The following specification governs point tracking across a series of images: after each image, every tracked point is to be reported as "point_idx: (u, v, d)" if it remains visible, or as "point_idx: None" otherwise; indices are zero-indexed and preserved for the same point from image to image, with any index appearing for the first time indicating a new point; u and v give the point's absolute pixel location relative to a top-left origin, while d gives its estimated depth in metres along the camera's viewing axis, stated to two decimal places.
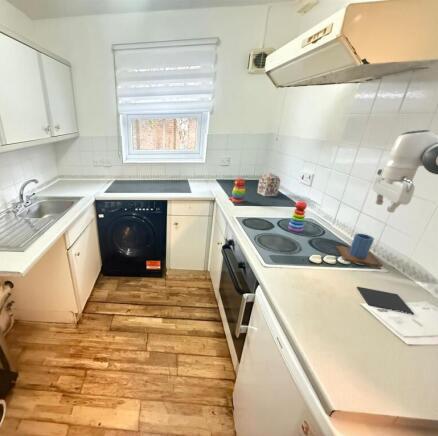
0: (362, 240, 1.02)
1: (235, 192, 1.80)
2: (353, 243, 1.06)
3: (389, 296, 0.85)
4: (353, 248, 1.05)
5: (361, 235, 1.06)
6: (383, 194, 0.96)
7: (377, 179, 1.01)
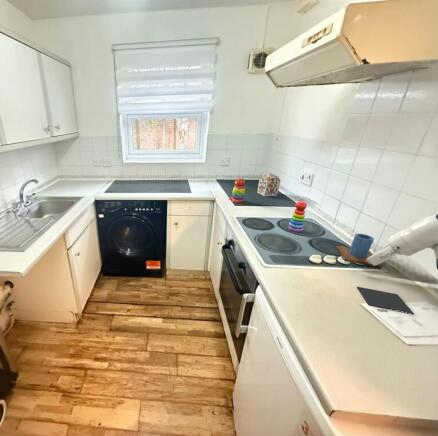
0: (362, 240, 1.02)
1: (235, 192, 1.80)
2: (353, 243, 1.06)
3: (389, 296, 0.85)
4: (353, 248, 1.05)
5: (361, 235, 1.06)
6: (379, 250, 0.99)
7: None
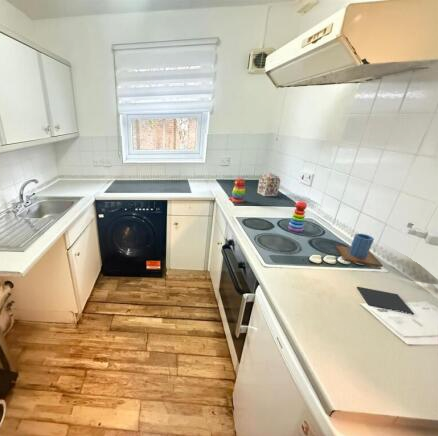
0: (362, 240, 1.02)
1: (235, 192, 1.80)
2: (353, 243, 1.06)
3: (389, 296, 0.85)
4: (353, 248, 1.05)
5: (361, 235, 1.06)
6: None
7: None
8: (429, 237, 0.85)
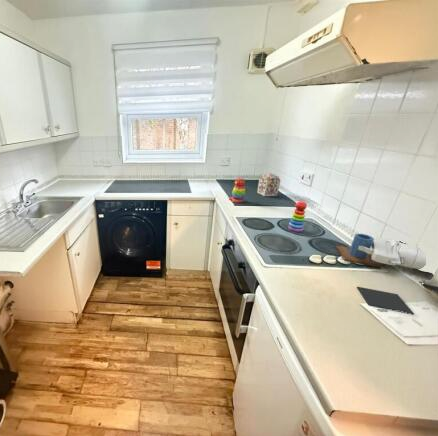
0: (362, 240, 1.02)
1: (235, 192, 1.80)
2: (353, 243, 1.06)
3: (389, 296, 0.85)
4: (353, 248, 1.05)
5: (361, 235, 1.06)
6: (376, 244, 1.02)
7: (390, 240, 1.04)
8: (374, 255, 0.95)
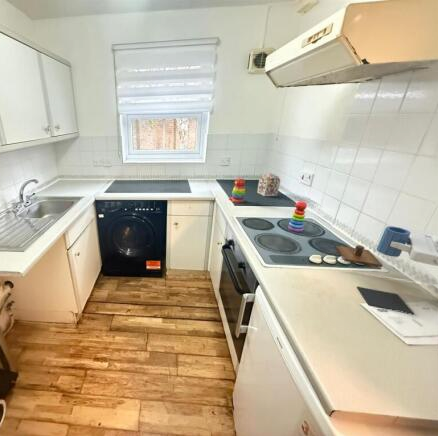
0: (396, 234, 0.81)
1: (235, 192, 1.80)
2: (383, 238, 0.85)
3: (389, 296, 0.85)
4: (383, 244, 0.84)
5: (393, 228, 0.84)
6: (414, 239, 0.80)
7: (430, 234, 0.83)
8: (414, 253, 0.74)
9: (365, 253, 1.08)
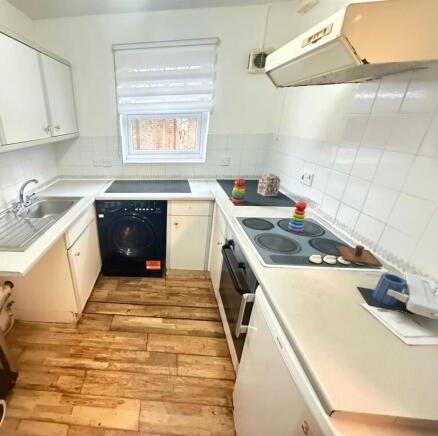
0: (391, 284, 0.79)
1: (235, 192, 1.80)
2: (379, 286, 0.83)
3: None
4: (379, 292, 0.83)
5: (389, 275, 0.83)
6: (411, 286, 0.79)
7: (427, 279, 0.81)
8: (411, 304, 0.72)
9: (365, 253, 1.08)
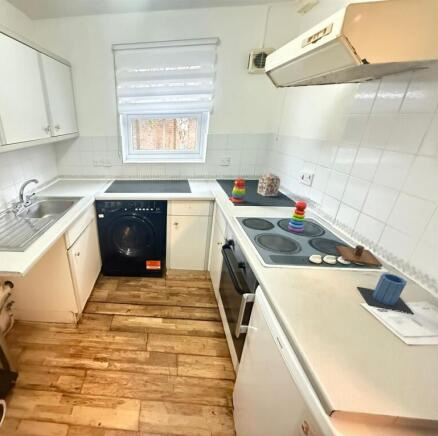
0: (391, 284, 0.79)
1: (235, 192, 1.80)
2: (379, 286, 0.83)
3: None
4: (379, 292, 0.83)
5: (389, 275, 0.83)
6: None
7: None
8: None
9: (365, 253, 1.08)
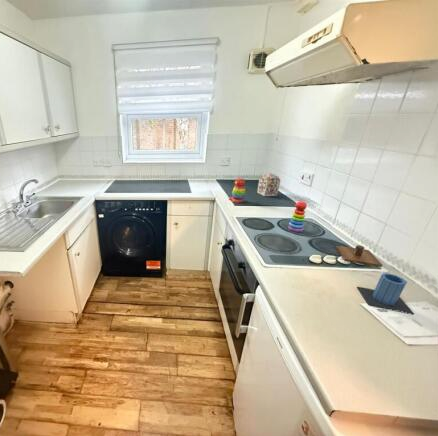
0: (391, 284, 0.79)
1: (235, 192, 1.80)
2: (379, 286, 0.83)
3: None
4: (379, 292, 0.83)
5: (389, 275, 0.83)
6: None
7: None
8: None
9: (365, 253, 1.08)
